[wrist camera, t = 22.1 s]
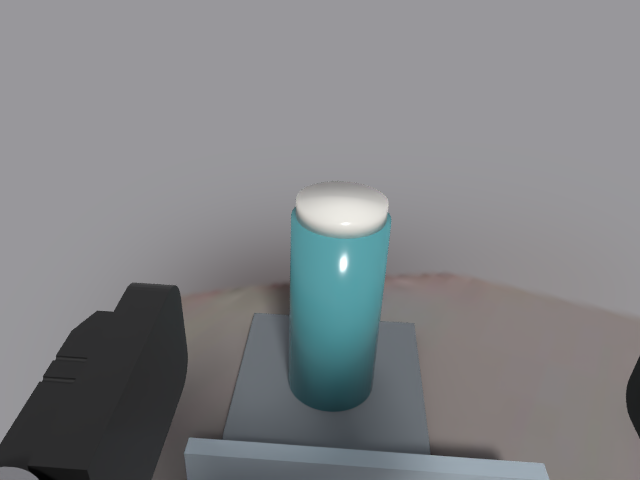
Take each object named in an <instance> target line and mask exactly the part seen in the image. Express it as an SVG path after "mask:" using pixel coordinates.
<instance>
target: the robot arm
mask: <svg viewBox="0 0 640 480" xmlns="http://www.w3.org/2000/svg"><path fill="white" fill-rule="evenodd" d="M187 363H188V353H187V344H186V336H185V328H184V320H183V312H182V304H181V296H180V291H179V289H178V287H177V286H175V285H161V284H145V283H131V284H130V285H129V286H128V287H127V289H126V291H125V292H124V294H123V296H122V298H121V300H120V301H119V303H118V305H117V307H116V309H115V310H114V312H108V311H96V312H95V313H94V314H93V315H91V316H90V317H89V318H87V319H86V320H85V321H83V322H82V323H81V324H80V325H79V326H77V327H76V328H75V329H73V330H72V331H71V333H70V334H69V336H68V337H67V339H66V341H65V342H64V344H63V346H62V347H61V348H60V350H59V352H58V353H57V355H56V360H55V361H52V363H51V364H50V366H49V368H48V369H47V371H46V373H45V374H44V376H43V381H42V382H39V383H38V385H37V387H36V388H35V390H34V391H33V393H32V394H31V396H30V398H29V399H28V401H27V402H26V404H25V406H24V407H23V409H22V410H21V412H20V413H19V415H18V417H17V418H16V420H15V421H14V423H13V425H12V426H11V428H10V429H9V431H8V433H7V434H6V436H5V437H4V439H3V440H2V442H1V444H0V480H151V479H152V476H153V474H154V471H155V468H156V465H157V462H158V459H159V456H160V453H161V451H162V448H163V445H164V442H165V439H166V436H167V433H168V430H169V427H170V425H171V422H172V419H173V416H174V413H175V410H176V407H177V404H178V402H179V399H180V396H181V393H182V390H183V387H184V383H185V379H186V373H187ZM626 403H627V409H628V413H629V417H630V419H631V421H632V423H633V425H634V427H635V430H636V432H637V434H638V436H639V438H640V357H639V359H638V361H637V363H636V365H635V368H634V370H633V372H632V374H631V376H630V379H629V381H628V385H627V390H626Z"/></svg>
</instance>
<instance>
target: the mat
mask: <svg viewBox="0 0 640 480" xmlns="http://www.w3.org/2000/svg"><path fill="white" fill-rule="evenodd" d="M289 322H290V315H280V314H264V313H254V317H253V321H252V325H251V329H250V332H249V336H248V340H247V344H246V348H245V352H244V356H243V359H242V363H241V367H240V371H239V375H238V379H237V383H236V387H235V390H234V394H233V398H232V402H231V406H230V410H229V414H228V417H227V421H226V425H225V429H224V433H223V437H222V440H231V441H244V442H258V443H272V444H285V445H299V446H313V447H326V448H340V449H353V450H367V451H381V452H394V453H408V454H422V455H431V453H430V445H429V437H428V429H427V421H426V413H425V405H424V398H423V390H422V382H421V374H420V366H419V358H418V350H417V342H416V335H415V327H414V323H402V322H386V321H380V326H379V335H378V344H377V353H376V361H375V370H374V379H373V388H372V391H371V393H370V395H369V397H368V398H367V399H366V400H365V401H364V402H363V403H361V404H360V405H358V406H356V407H354V408H352V409H349V410H345V411H337V412H328V411H321V410H317V409H314V408H311V407H309V406H307V405H305V404H304V403H302V402H301V401H299V400H298V399H297V398H296V397H295V396H294V394H293V393H292V391H291V389H290V386H289Z"/></svg>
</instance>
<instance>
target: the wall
mask: <svg viewBox="0 0 640 480" xmlns="http://www.w3.org/2000/svg"><path fill="white" fill-rule="evenodd" d="M184 457H185V465H186V473H187V480H549V478H548V475H547V471H546V468H545V465H544V463H531V462H517V461H503V460H490V459H476V458H462V457H449V456H435V455H422V454H408V453H394V452H381V451H367V450H353V449H340V448H326V447H313V446H299V445H285V444H272V443H258V442H244V441H231V440H217V439H204V438H190V437H189V440H188V443H187V446H186V449H185V452H184Z"/></svg>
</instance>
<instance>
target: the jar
mask: <svg viewBox="0 0 640 480" xmlns="http://www.w3.org/2000/svg"><path fill="white" fill-rule="evenodd" d="M390 228H391V216H390V215H389V213H388V200H387V198H386V197H385V195H384V194H382V193H381V192H380V191H378V190H376V189H374V188H372V187H369V186H366V185H362V184H358V183H352V182H343V181H331V182H322V183H317V184H313V185H310V186H308V187H306V188H304V189H302V190H301V191H300V192H299V193H298V195H297V197H296V207H295V208H294V209H293V211H292V214H291V263H290V264H291V265H290V322H289V386H290V389H291V391H292V393H293V394H294V396H295V397H296V398H297V399H298V400H299V401H301V402H302V403H304V404H305V405H307V406H309V407H311V408H314V409H317V410H321V411H328V412H337V411H345V410H349V409H352V408H354V407H356V406H358V405H360V404H361V403H363V402H364V401H365V400H366V399H367V398H368V397H369V395H370V393H371V391H372V388H373V379H374V370H375V361H376V353H377V344H378V335H379V326H380V317H381V308H382V299H383V290H384V281H385V273H386V263H387V254H388V246H389V237H390Z"/></svg>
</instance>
